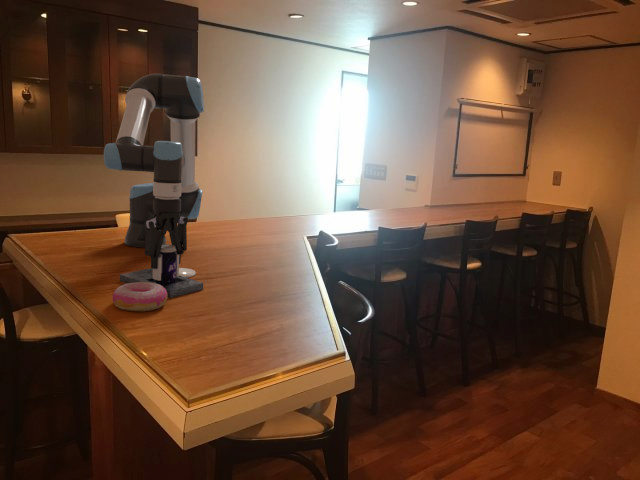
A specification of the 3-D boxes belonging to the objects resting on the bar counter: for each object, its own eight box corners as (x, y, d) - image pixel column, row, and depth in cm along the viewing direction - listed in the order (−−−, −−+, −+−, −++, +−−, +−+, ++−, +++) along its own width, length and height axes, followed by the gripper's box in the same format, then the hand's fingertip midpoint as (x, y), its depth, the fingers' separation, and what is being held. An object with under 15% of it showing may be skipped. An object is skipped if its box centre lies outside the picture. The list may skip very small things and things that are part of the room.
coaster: (155, 273, 164) (155, 271, 164) (180, 268, 172) (180, 266, 172) (177, 280, 158) (177, 278, 158) (202, 274, 167) (202, 272, 167)
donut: (125, 295, 142) (125, 277, 141) (174, 299, 141) (174, 281, 140) (103, 311, 128) (103, 292, 127) (157, 316, 128) (157, 296, 127)
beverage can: (170, 290, 148) (170, 249, 146) (151, 288, 149) (152, 247, 147) (179, 285, 153) (180, 245, 151) (161, 283, 154) (162, 243, 152)
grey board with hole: (119, 281, 153) (119, 274, 153) (153, 273, 163) (153, 267, 163) (170, 298, 141) (170, 291, 141) (203, 289, 151) (203, 282, 151)
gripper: (148, 201, 136) (147, 286, 141) (201, 197, 152) (199, 274, 156) (130, 197, 140) (129, 280, 145) (183, 194, 156) (182, 269, 160)
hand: (165, 277), depth 151 cm, fingers open, 6 cm apart
